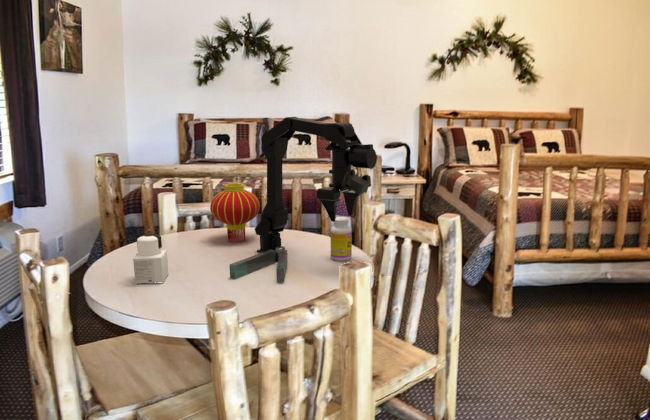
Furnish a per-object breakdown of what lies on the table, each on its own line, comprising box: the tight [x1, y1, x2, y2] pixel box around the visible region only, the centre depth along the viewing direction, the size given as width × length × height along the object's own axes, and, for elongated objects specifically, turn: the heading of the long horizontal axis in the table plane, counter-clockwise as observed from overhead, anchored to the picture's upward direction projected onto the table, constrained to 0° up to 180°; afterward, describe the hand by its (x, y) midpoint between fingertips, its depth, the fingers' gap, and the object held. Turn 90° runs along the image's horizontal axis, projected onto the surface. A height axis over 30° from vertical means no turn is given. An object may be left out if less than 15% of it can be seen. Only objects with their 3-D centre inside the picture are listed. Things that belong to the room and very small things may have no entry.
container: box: [132, 233, 169, 283], centre depth 156 cm, size 8×8×13 cm
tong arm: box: [275, 249, 289, 283], centre depth 162 cm, size 2×18×4 cm, turn 1°
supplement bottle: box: [330, 216, 353, 262], centre depth 174 cm, size 7×7×13 cm
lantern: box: [209, 164, 261, 244], centre depth 195 cm, size 17×17×30 cm
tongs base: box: [228, 245, 286, 280], centre depth 165 cm, size 4×22×4 cm, turn 145°
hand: (341, 218), depth 165 cm, fingers open, 9 cm apart
